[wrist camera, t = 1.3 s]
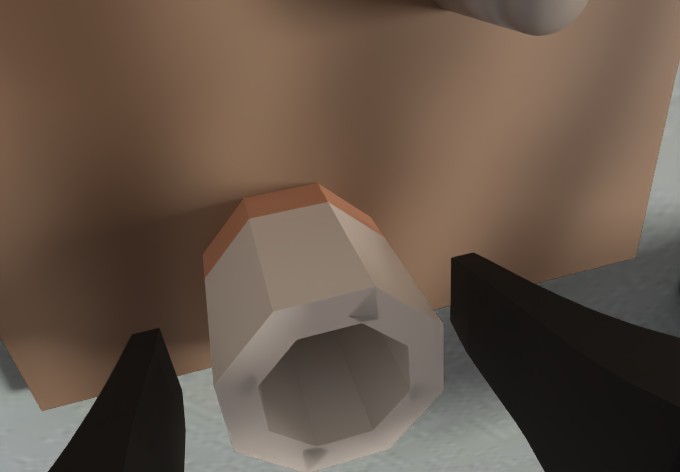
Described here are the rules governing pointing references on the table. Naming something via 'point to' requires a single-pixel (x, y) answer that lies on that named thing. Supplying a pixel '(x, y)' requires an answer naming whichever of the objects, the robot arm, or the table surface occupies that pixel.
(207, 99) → the pin board
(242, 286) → the sleeve
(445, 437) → the table surface
